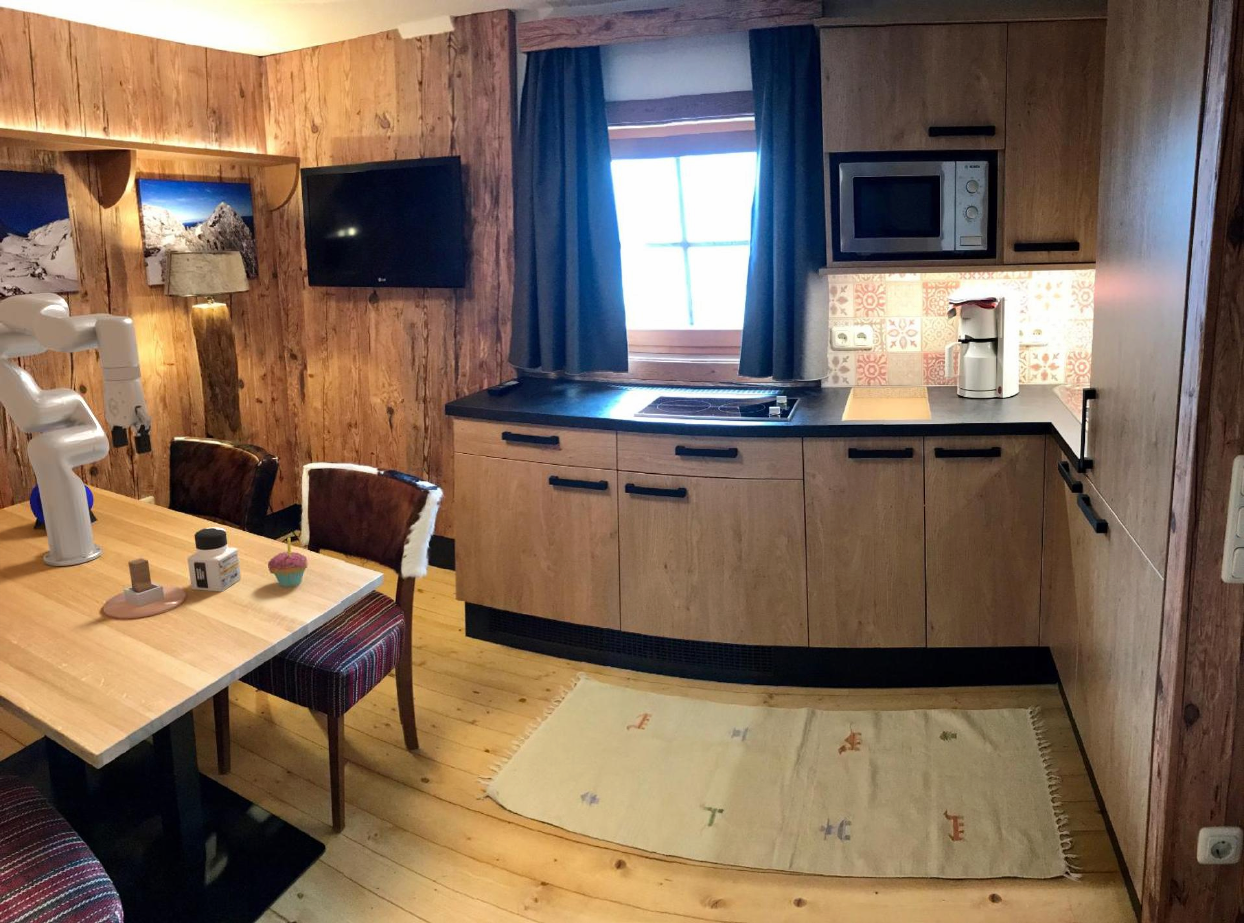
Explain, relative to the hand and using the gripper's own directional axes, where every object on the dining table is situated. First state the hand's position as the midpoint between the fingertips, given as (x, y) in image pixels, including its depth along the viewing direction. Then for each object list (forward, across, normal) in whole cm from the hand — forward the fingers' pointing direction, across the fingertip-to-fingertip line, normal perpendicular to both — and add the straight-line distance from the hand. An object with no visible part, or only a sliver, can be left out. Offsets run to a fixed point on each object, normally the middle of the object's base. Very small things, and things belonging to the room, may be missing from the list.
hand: (132, 449), depth 220 cm
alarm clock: (+31, -56, +8) cm, 64 cm away
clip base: (+30, +14, -9) cm, 35 cm away
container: (+31, +17, +6) cm, 35 cm away
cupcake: (+31, +30, +16) cm, 46 cm away
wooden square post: (+30, +14, -9) cm, 34 cm away
